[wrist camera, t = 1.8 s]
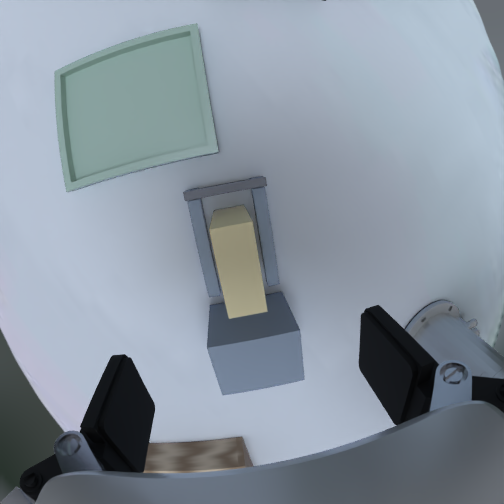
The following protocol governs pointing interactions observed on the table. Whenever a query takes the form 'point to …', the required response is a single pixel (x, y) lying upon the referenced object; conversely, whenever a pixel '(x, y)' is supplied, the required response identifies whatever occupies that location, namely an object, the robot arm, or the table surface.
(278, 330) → the dispenser
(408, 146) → the table surface
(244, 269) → the block
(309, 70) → the table surface
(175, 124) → the tray
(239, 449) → the frame
